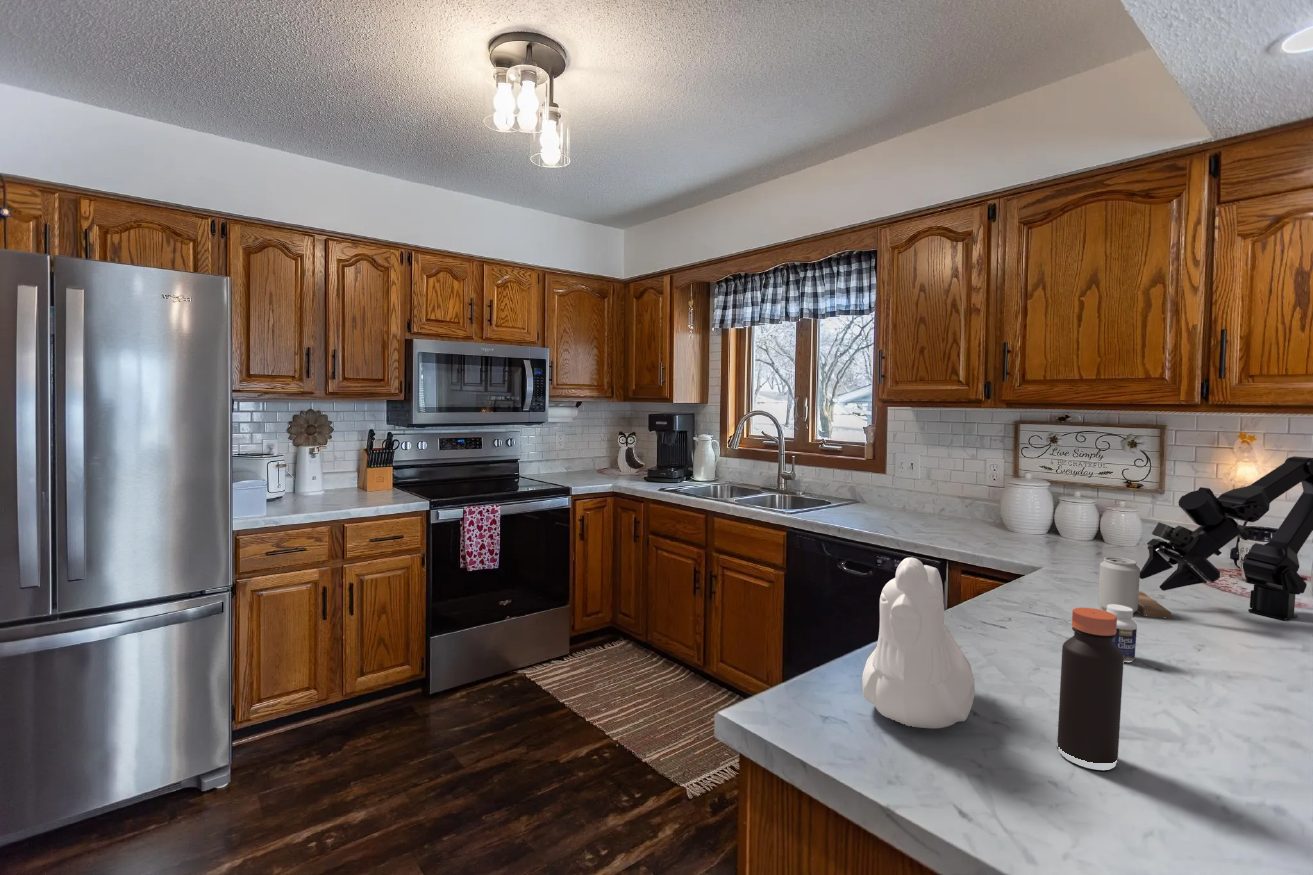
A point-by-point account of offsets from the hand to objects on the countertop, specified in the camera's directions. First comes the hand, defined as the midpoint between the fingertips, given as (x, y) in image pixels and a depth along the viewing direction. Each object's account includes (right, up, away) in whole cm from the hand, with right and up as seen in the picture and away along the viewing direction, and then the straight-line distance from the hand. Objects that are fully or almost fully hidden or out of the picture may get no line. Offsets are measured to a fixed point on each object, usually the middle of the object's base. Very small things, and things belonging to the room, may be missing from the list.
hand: (1150, 583), depth 145 cm
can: (-6, -7, +2) cm, 10 cm away
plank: (+2, -7, +5) cm, 8 cm away
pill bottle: (-26, -8, -26) cm, 38 cm away
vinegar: (-55, -10, -60) cm, 82 cm away
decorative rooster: (-71, -9, -46) cm, 85 cm away
